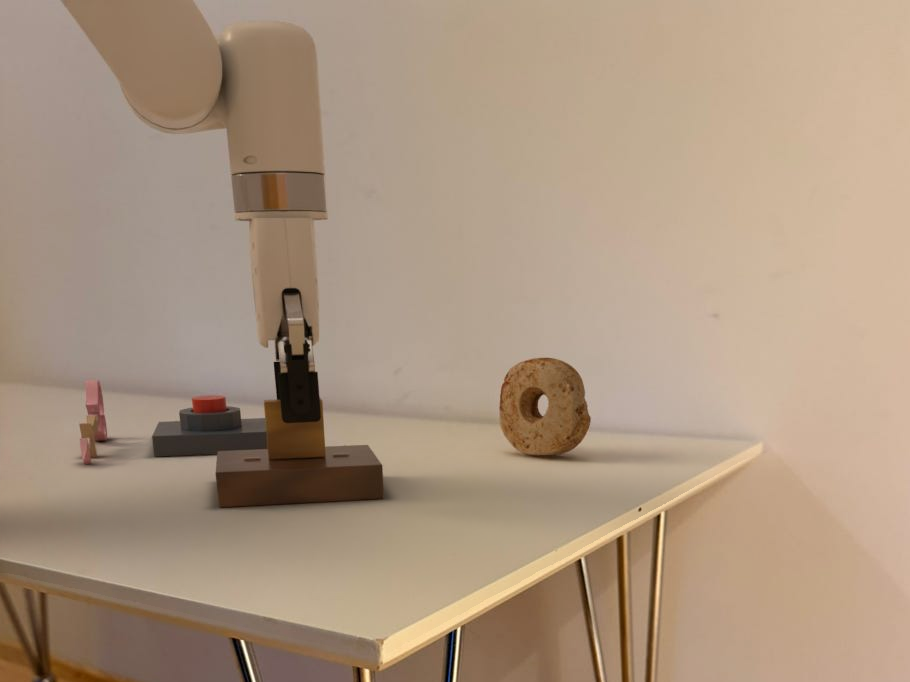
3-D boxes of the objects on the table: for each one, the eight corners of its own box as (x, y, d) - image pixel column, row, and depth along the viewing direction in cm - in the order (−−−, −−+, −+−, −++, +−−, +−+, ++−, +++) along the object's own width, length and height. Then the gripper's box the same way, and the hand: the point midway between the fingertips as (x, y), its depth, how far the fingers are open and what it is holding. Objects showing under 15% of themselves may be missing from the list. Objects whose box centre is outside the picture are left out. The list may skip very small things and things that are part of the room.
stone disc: (491, 452, 106) (491, 356, 102) (511, 447, 109) (512, 354, 105) (572, 464, 100) (575, 362, 96) (591, 458, 103) (595, 359, 99)
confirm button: (192, 416, 107) (191, 400, 106) (194, 411, 110) (192, 395, 109) (226, 415, 107) (225, 399, 107) (227, 410, 111) (225, 394, 110)
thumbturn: (268, 459, 87) (263, 399, 85) (268, 456, 88) (263, 396, 86) (325, 457, 88) (322, 397, 86) (324, 454, 89) (320, 395, 87)
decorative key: (82, 496, 99) (97, 432, 116) (95, 495, 100) (108, 431, 116) (71, 431, 96) (88, 375, 113) (84, 430, 96) (99, 374, 113)
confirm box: (154, 457, 104) (149, 418, 103) (160, 441, 113) (156, 405, 112) (269, 452, 107) (266, 414, 105) (266, 436, 116) (264, 402, 114)
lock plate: (218, 507, 83) (215, 470, 82) (220, 483, 92) (217, 449, 91) (383, 498, 86) (382, 462, 85) (369, 475, 95) (368, 442, 94)
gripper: (233, 206, 87) (253, 402, 94) (233, 195, 72) (256, 431, 78) (318, 205, 89) (332, 398, 95) (336, 194, 73) (351, 426, 79)
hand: (298, 413), depth 86 cm, fingers open, 9 cm apart
